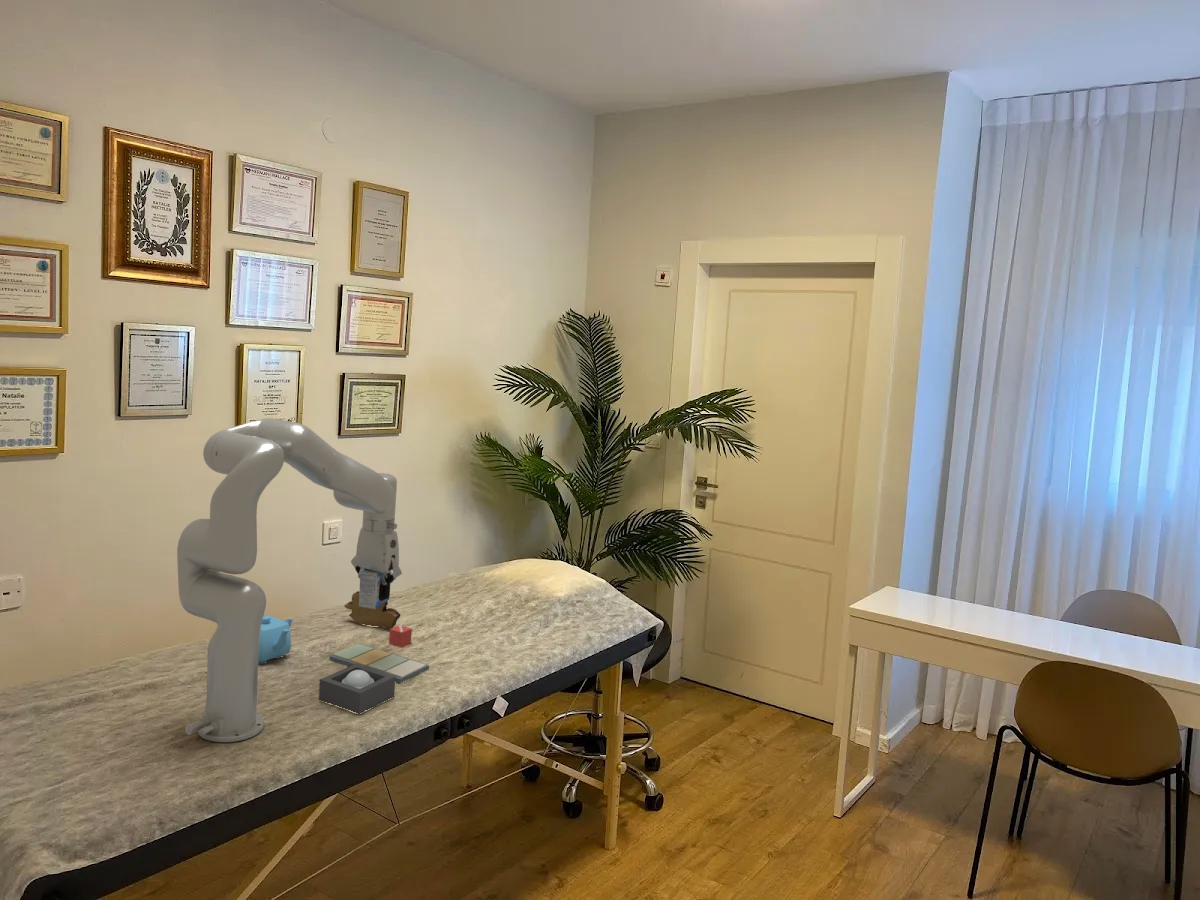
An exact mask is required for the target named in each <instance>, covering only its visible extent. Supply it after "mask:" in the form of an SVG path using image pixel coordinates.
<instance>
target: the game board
mask: <svg viewBox="0 0 1200 900" xmlns="http://www.w3.org/2000/svg"><path fill="white" fill-rule="evenodd" d="M329 661H332V662H335V663H338V664H341V665H344V666H347V667H349V666H351V665H354V664H359V665H362V666H365V667H369V668H372V669H375V670H378V671H381V672H384V673H387V674H390V675H393V676H396V677H395V683H399V684H402V683H403V681H404V682H406V681H408V680H409V678H410V679H412V678H414V677H416V676H418V675H420V674H422V673H424V672H426V671H428V670H429V669H430V664H427V663H423V662H421V661H419V660H418V661H417V660H414V659H411V658H408V657H405V656H401V655H398V654H395V653H392V652H388V651H386V650H382V649H379V648H375V647H373V646H369V645H366V644H363V643H356V644H354V645H352V646H350V647H346V648H345V649H341V650H340V651H338V652H334V653H333V654H332V655H329ZM425 670H426V671H425ZM421 672H422V673H421ZM419 673H420V674H419ZM415 675H416V676H415ZM413 676H414V677H413ZM411 677H412V678H411ZM407 679H408V680H407ZM405 680H406V681H405ZM401 682H402V683H401Z"/></svg>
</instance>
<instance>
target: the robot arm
mask: <svg viewBox="0 0 1200 900" xmlns="http://www.w3.org/2000/svg"><path fill="white" fill-rule="evenodd" d="M202 456H203V460H204V462H205V464H206V465H207V467H208V468H209V469H211V470H212V471H214V472H216V473H219V474H222V475H226V476H225V477H224V479H222V480H221V482H220V483H218V486H217V487H216V488H215V490H214V492H213V494H212V496H211V500H210V504H209V518H199V519H196V520H193V521H191V522H190V523H189V524H187V525H186V526H185V528H184V529H183V530H182V531H181V534H180V536H179V538H178V542H177V547H176V548H177V549H176V550H177V551H176V559H177V580H178V581H177V582H178V596H179V601H180V604H181V607H182V608H183V610H185V611H186V612H187V613H188V614H190V615H192V616H195V617H198V618H202V619H205V620H209V621H211V622H213V623H216V624H217V626H216V630H215V631H214V633H213V634H212V636H211V638H210V639H209V642H208V646H207V665H206V666H207V671H206V701H205V702H206V703H205V704H206V706H205V710H204V711H201V716H200V718H198V720H197V721H196V722H195V721H194V722H192V723H189V724H187V725H185V727H184V732H185V733H186V734H187V735H188V736H190V735H194V734H196V733H197V734H198V735H199V736H200V737H201V738H202V739H204V740H207V741H210V742H216V743H233V742H240V741H243V740H244V741H245V740H248V739H250V738H253V737H255V736H256V735H258V734H260V732H262V730H263V729H264V727H265V719H264V717H263V716H262V715H261V714H259V713H257V708H258V684H259V683H258V681H259V680H258V679H259V677H258V676H259V663H258V658H259V637H260V629H261V624H262V619H263V616H265V611H266V607H267V597H266V593H265V591H264V589H262V587H261V586H260V585H259V584H257V583H256V582H254V581H252V580H250V579H246V578H243V577H240V576H239V577H238V576H236V575H242V574H243V575H244V574H246V573H248V572H250V571H251V570H252V569H253V568H254V566H255V564H256V561H257V555H258V526H257V525H258V523H257V522H258V521H257V514H258V504H259V500H260V498H261V495H263V491H264V490H265V489H266V488H267V486H268V485H269V484H270V483H271V482H272V481H273V480H274V479H275V478H276V477H277V476H278V474H279V473H280V471H281V470H282V468H283V465H284V464H288V466H291V468H293V469H295V470H296V471H297V472H298V473H300V474H302V475H303V477H306V479H308V480H309V481H310V482H312V483H314V484H316V485H318V486H321V487H323V488H326V489H328V490H331V491H333V492H332V493H333V498H334V500H335V501H336V503H338V504H339V505H340V506H343V507H345V508H348V509H353V510H359V511H362V527H361V528H360V530H359V534H358V537H357V544H356V554H355V555H354V557H353V558H352V559H351V560H350V564H352V566H353V567H354V569H355V571H356V573H357V578H358V579H359V580H360V574H361V573H362V572H364V571H366V570H371V571H375V572H379V573H380V576H381V582H382V584H381V585H380V588H379V600H381V601H382V600H385V599H388V598H389V599H390V596H391V595H390V594H391V584H392V583H394V581H395V580H396V579H397V578H398V577H400V576H401V575H402V574H403V571H402V569H401V568H400V566H399V565H400V563H399V562H400V552H399V551H400V549H399V537H398V533H397V531H396V529H398V524H397V523H395V521H396V506H397V505H396V502H397V485H398V484H397V483H398V482H397V478H396V477H395V475H393V474H390V473H384V472H376V471H375V470H374V469H372V468H370V467H369V466H366V465H364V464H362V463H360V462H358V461H357V460H355V459H353V458H351V457H350V456H347V454H346V455H345V454H343V453H342V452H340V451H338V450H337V449H335V448H334V447H333V446H332V445H330V444H329V443H328V442H327V441H325V440H324V439H323V438H322V437H321V436H320V435H318V434H317V433H316V432H314V430H312V429H311V428H309V427H308V426H307V425H304V424H302V423H299V422H296V421H290V420H289V421H288V420H283V419H278V418H273V417H272V418H270V417H269V418H267V417H266V418H265V417H264V418H260V419H256V420H252V421H249V422H246V423H242V424H239V425H236V426H232V427H229V428H225V429H223V430H219V431H218V432H215V433H213V434H212V435H211V436H210V437H209V438H208V440H207V441H206V443H205V444H204V446H203V455H202ZM284 462H285V463H284ZM385 574H387V578H386V575H385Z"/></svg>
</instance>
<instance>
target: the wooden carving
mask: <svg viewBox="0 0 1200 900" xmlns="http://www.w3.org/2000/svg"><path fill="white" fill-rule="evenodd" d="M388 601H389V600H388ZM388 601H387V602H385V603H383V604H382V605H381V606H379V607H378V608H376V609H371V608H364V607H360V606H359V590H358V591H356V592H353V594H352V595H351V601H349V602H347V603H346V604H344V608H345V609H347V610H351V613H349V615H348V616H349V617H350V618H351V619H352V620H353V621H355V622H356V623H358V624H359V625H361V624H365V625H371V626H378V627H377V628H379V627H383V628H385V629H389V630H390V629H392V628H394V627H396V626H397V621H398V620H399V619H400V618H401V613H399V611H398V610H397V609H395V608H392V607H387V606H388V605H389V603H388Z"/></svg>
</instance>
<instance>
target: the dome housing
mask: <svg viewBox="0 0 1200 900" xmlns="http://www.w3.org/2000/svg"><path fill="white" fill-rule="evenodd" d="M354 670H363V671H365V672H367V673H368V674H369V676H370V677H371V678H372V679H373V680H374V682H373V683H371V684H369V685H367V686H365V687H363V688H361V689H358V688H356V687H353V686H350V685H347V684H344V683H342V680H343V679H344V678H346V676H347V675H348V674H349V673H350V672H352V671H354ZM395 677H396V676H393V675H390V674H387V673H384V672H381V671H378V670H375V669H372V668H369V667H365V666H362V665H359V664H354V665H351V666H347V667H345V668H342V669H340V670H338V671H336V672H334V673H330V674H327V676H324V677H322V678H320V679H319V687H318V688H319V690H318V701H319V700H321V701H324V702H327V703H331V704H333V705H337V706H339V707H342V708H345V709H348V710H351V711H353V712H356V713H358V714H360V713H362V712H364V711H365V710H368V709H370V708H372V707H374V706H376V705H378V704H380V703H382V702H384V701H386V700H388V699H390V698H392V697H394V698H395V694H396V693H395V688H396V682H395ZM392 699H393V698H392ZM390 700H391V699H390ZM321 701H320V702H321ZM388 701H389V700H388ZM324 702H323V703H324ZM386 702H387V701H386ZM327 703H326V704H327ZM384 703H385V702H384ZM382 704H383V703H382ZM380 705H381V704H380ZM378 706H379V705H378ZM376 707H377V706H376ZM374 708H375V707H374ZM372 709H373V708H372ZM370 710H371V709H370ZM368 711H369V710H368ZM364 713H365V712H364ZM362 714H363V713H362ZM360 715H361V714H360Z"/></svg>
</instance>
